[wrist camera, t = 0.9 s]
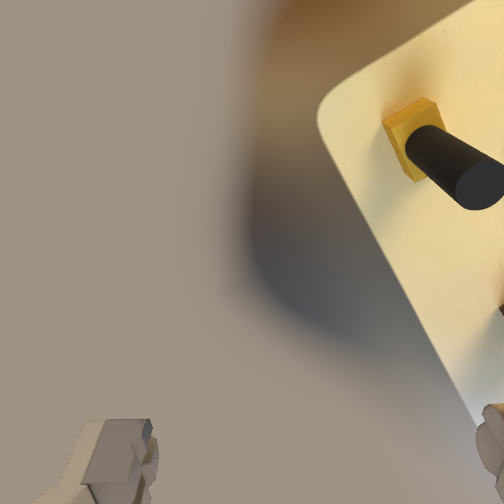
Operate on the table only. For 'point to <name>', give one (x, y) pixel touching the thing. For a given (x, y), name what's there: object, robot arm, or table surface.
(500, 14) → the table surface
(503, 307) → the box
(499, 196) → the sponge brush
